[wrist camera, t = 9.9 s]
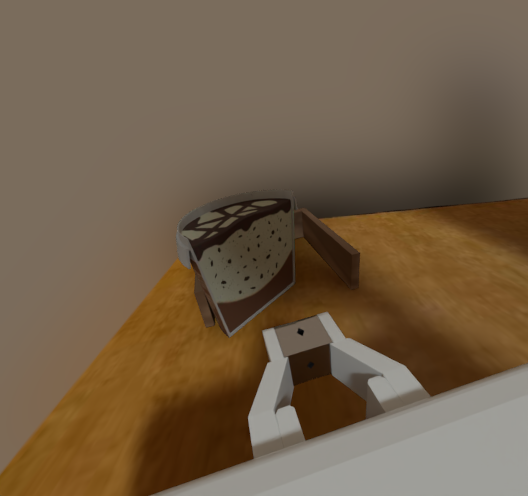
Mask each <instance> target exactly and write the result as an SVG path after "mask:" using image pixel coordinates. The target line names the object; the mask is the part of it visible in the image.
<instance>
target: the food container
mask: <svg viewBox="0 0 528 496" xmlns="http://www.w3.org/2000/svg"><path fill="white" fill-rule="evenodd" d="M294 210H298V207H297V203H296V198H295V196H293V190H263V191H255V192H248V193H242V194H237V195H233V196H229V197H225V198H221V199H218V200H215V201H212V202H210V203H207V204H204V205H202V206H200V207H198V208H196V209H194V210H192V211H191V212H189V213H188V214H187V215H185V216H184V217H183V218H182V219H181V220H180V222H179V224H178V226H177V230H178V232H177V234H176V242H177V251H178V257H179V260H180V261H181V263H182V264H183V265H184V266H185V267H187V268H188V269H190V268H191V267H190V262H191V265H192V267H193V269H194V271H195V273H196V275H197V278H198V280H199V282H200V284H201V286H202V289H203V291H204V293H205V295H206V297H207V300H208V302H209V304H210V306H211V308H212V311H213V313H214V315H215V317H216V319H217V321H218V324H219V326H220V328H221V329H222V331H223V332H224V333H225V334H226V335H227V336H228V337H229V338H230V337H231V336H232V335H233V334H234V333H236V332H237V331H238V330H239V329H241V328H242V327H243V326H244V325H245V324H247V323H248V322H249V321H250V320H251V319H253V318H254V317H255V316H256V315H258V314H259V313H260V312H261V311H262V310H264V309H265V308H266V307H267V306H268V305H270V304H271V303H272V302H273V301H274V300H276V299H277V298H278V297H279V296H281V295H282V294H283V293H284V292H285V291H287V290H288V289H289V288H290V287H291V286H293V285H294V284H295V241H294Z"/></svg>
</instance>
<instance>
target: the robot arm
mask: <svg viewBox="0 0 528 496" xmlns="http://www.w3.org/2000/svg"><path fill="white" fill-rule="evenodd" d="M262 333H263V337H264V341H265V346H266V350H267V354H268V358H269V363H267V366H266V369H265V371H264V374H263V377H262V380H261V383H260V385H259V388H258V391H257V394H256V396H255V399H254V402H253V405H252V408H251V410H250V413H249V416H248V422H249V429H250V436H251V442H252V449H253V456H254V459H252V460H249V461H246V462H244V463H241V464H238V465H235V466H232V467H229V468H227V469H224V470H221V471H218V472H215V473H212V474H209V475H207V476H204V477H201V478H198V479H195V480H192V481H190V482H187V483H184V484H181V485H178V486H175V487H172V488H170V489H167V490H164V491H161V492H158V493H155V494H152V495H150V496H528V363H526V364H523V365H520V366H517V367H514V368H512V369H509V370H506V371H503V372H500V373H497V374H494V375H492V376H489V377H486V378H483V379H480V380H477V381H475V382H472V383H469V384H466V385H463V386H460V387H457V388H455V389H452V390H449V391H446V392H443V393H440V394H437V395H435V396H432V397H431V396H430V395H429V394H428V393H427V391H426V390H425V389H424V388H423V387H422V385H421V384H420V383H419V382H418V381H417V379H416V378H415V377H414V376H413V375H412V373H411V372H410V371H409V370H408V369H407V367H406V366H404V365H402V364H400V363H398V362H396V361H394V360H392V359H390V358H388V357H386V356H384V355H382V354H380V353H378V352H376V351H374V350H372V349H370V348H368V347H366V346H364V345H362V344H360V343H358V342H356V341H354V340H352V339H350V338H347V339H346V338H345V337H344V335H343V334H342V332H341V331H340V329H339V328H338V326H337V325H336V323H335V322H334V320H333V319H332V317H331V316H330V314H329V313H328V312H324V313H321V314H318V315H314V316H311V317H308V318H304V319H301V320H298V321H295V322H292V323H288V324H284V325H280V326H276V327H274V328H270V329H266V330H262ZM329 374H332V375H333V376H334V377H335V378H337V379H338V380H339V381H341V382H342V383H343V384H344V385H346V386H347V387H348V388H350V389H351V390H352V391H354V392H355V393H356V394H358V395H359V396H360V397H361V398H363V399H364V400H365V401H367V404H366V420H363V421H360V422H357V423H355V424H352V425H349V426H346V427H343V428H340V429H338V430H335V431H332V432H329V433H326V434H323V435H321V436H318V437H315V438H312V439H309V440H306V441H305V438H304V435H303V432H302V429H301V426H300V423H299V420H298V417H297V414H296V411H295V408H294V407H292V406H290V404H291V399H292V394H293V389H294V386H295V385H298V384H301V383H304V382H306V381H309V380H312V379H316V378H319V377H322V376H326V375H329Z"/></svg>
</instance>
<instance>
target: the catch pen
mask: <svg viewBox="0 0 528 496" xmlns="http://www.w3.org/2000/svg"><path fill="white" fill-rule="evenodd" d="M300 237H304V238H305V239H306V240H307V241H308V242H309V243H310V244H311V246H312V247H313V248H314V249H315V250H316V251H317V252H318V253H319V254H320V256H321V257H322V258H323V259H324V260H325V261H326V262H327V263H328V264H329V266H330V267H331V268H332V269H333V270H334V271H335V272H336V273H337V274H338V276H339V277H340V278H341V279H342V280H343V281H344V282H345V283H346V284H347V286H348V287H349V288H350V289H355V288H358V286H359V262H360V253H359V252H358V251H357V250H356V249H354V248H353V247H352V246H351V245H350V244H348V243H347V242H346V241H345V240H343V239H342V238H341V237H340V236H338V235H337V234H336V233H335V232H334V231H332V230H331V229H330V228H329V227H327V226H326V225H325V224H324V223H323V222H321V221H320V220H319V219H318V218H316V217H315V216H314V215H312V214H311V213H310V212H309V211H308V210H306V209H305V208H302V209H298V210H294V239H296V238H300ZM194 294H195V297H196V300H197V302H198V305H199V308H200V311H201V314H202V317H203V320H204V323H205V326H206V327H210V326H214V325H215V323H214V313H213V311H212V308H211V306H210V304H209V302H208V300H207V297H206V295H205V293H204V291H203V289H202V286H201V284H200V282H199V280H198V278H197V275H196V273H195V290H194Z"/></svg>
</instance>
